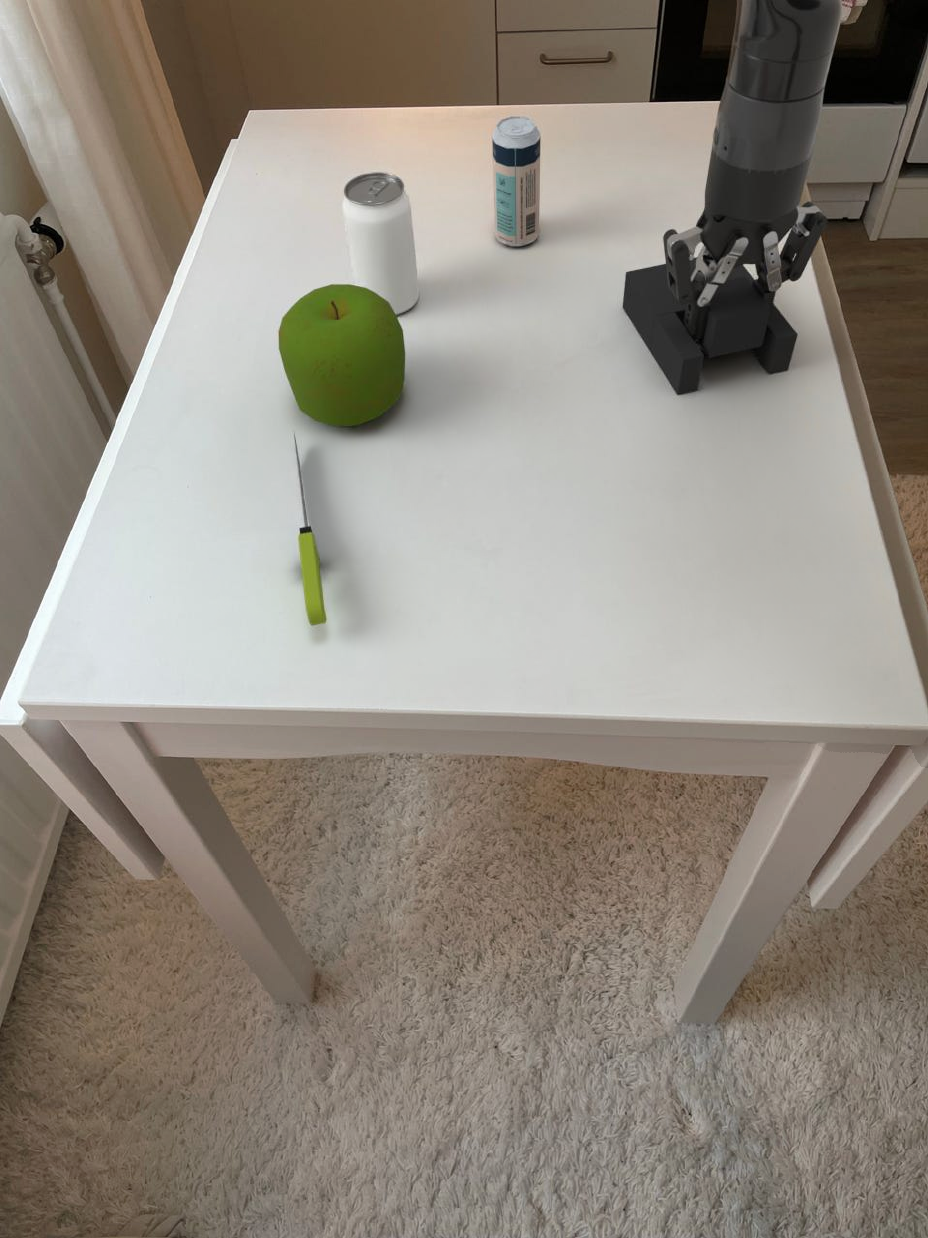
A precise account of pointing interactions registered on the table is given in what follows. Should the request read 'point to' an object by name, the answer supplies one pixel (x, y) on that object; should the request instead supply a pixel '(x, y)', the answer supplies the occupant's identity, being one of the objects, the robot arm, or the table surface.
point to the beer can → (516, 180)
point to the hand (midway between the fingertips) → (725, 326)
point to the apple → (343, 354)
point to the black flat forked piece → (672, 341)
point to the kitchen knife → (310, 565)
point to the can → (381, 238)
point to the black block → (735, 319)
